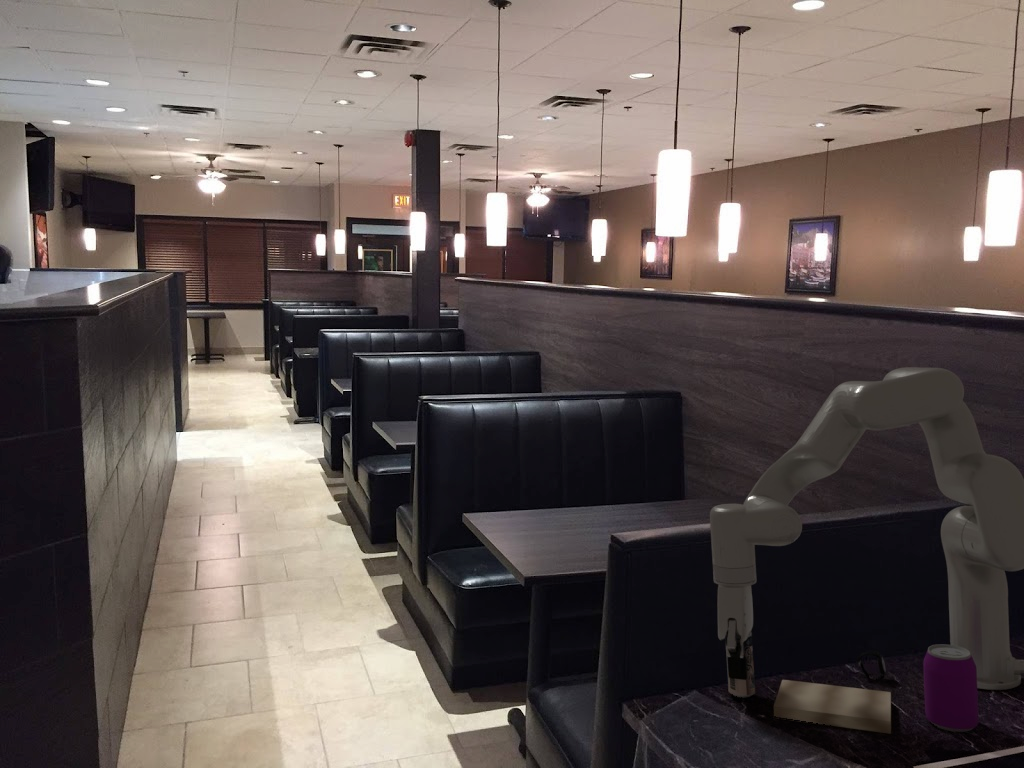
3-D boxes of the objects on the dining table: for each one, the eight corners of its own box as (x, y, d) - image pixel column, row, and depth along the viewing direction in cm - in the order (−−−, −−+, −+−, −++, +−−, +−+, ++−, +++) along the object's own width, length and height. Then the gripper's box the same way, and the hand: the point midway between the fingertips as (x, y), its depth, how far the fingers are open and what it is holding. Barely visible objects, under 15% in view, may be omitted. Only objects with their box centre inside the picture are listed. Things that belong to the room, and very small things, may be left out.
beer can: (756, 699, 143) (752, 632, 143) (729, 698, 144) (725, 632, 144) (754, 688, 148) (750, 623, 148) (727, 687, 149) (723, 623, 149)
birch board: (891, 703, 140) (890, 692, 140) (891, 733, 129) (890, 721, 129) (782, 690, 148) (782, 679, 148) (774, 717, 137) (773, 706, 137)
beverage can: (928, 731, 129) (925, 657, 129) (923, 711, 136) (920, 641, 136) (982, 737, 126) (979, 661, 126) (974, 716, 134) (972, 644, 133)
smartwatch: (881, 684, 148) (880, 657, 148) (854, 677, 152) (853, 651, 152) (892, 678, 150) (891, 652, 150) (866, 671, 154) (864, 645, 154)
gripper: (722, 560, 155) (728, 654, 155) (703, 585, 139) (710, 688, 140) (762, 562, 152) (768, 657, 152) (748, 587, 136) (754, 693, 137)
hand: (740, 671), depth 146 cm, fingers closed on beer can, 4 cm apart
